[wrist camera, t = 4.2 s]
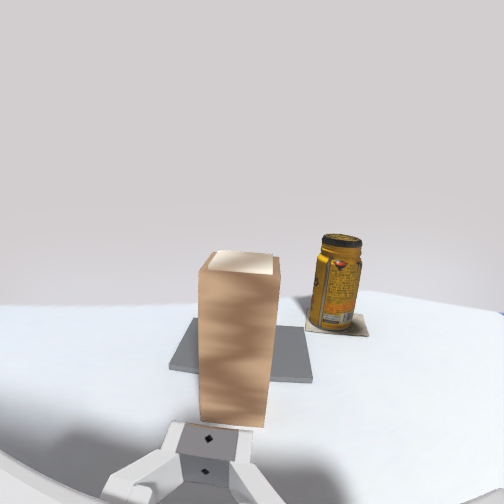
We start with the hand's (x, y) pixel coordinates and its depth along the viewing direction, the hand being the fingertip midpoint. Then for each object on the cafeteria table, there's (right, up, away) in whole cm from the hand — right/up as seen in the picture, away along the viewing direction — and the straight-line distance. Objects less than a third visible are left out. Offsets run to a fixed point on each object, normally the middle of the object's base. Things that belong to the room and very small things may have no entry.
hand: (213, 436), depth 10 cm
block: (0, -6, +14) cm, 16 cm away
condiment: (+13, -3, +31) cm, 34 cm away
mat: (+1, -4, +24) cm, 24 cm away
